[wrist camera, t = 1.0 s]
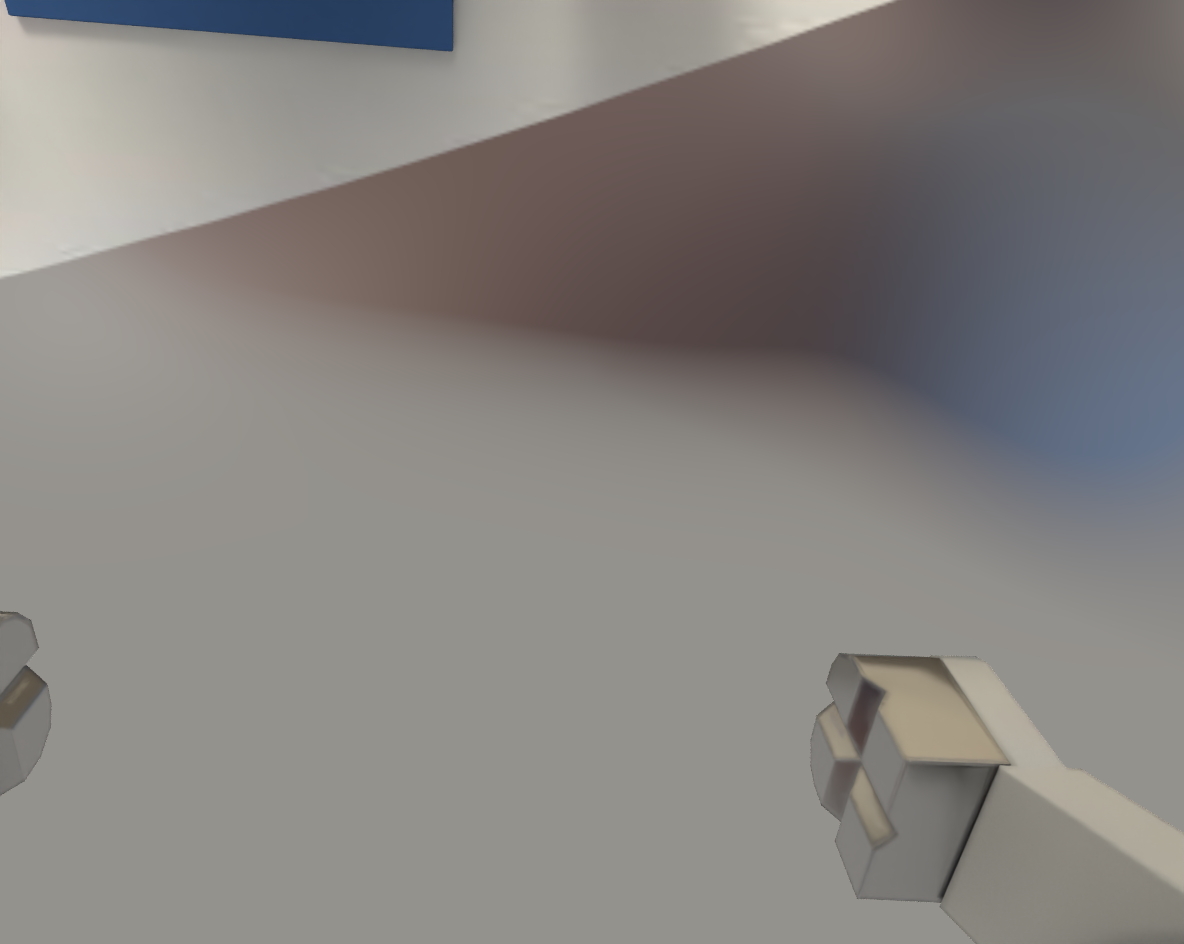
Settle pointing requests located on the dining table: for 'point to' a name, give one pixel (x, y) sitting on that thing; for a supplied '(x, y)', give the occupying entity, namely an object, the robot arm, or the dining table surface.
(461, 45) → the dining table surface
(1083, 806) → the robot arm
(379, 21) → the blue pad
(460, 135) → the dining table surface
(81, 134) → the dining table surface
